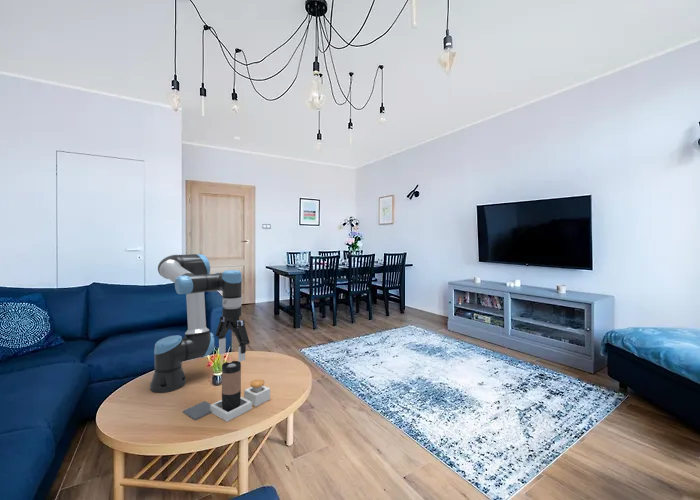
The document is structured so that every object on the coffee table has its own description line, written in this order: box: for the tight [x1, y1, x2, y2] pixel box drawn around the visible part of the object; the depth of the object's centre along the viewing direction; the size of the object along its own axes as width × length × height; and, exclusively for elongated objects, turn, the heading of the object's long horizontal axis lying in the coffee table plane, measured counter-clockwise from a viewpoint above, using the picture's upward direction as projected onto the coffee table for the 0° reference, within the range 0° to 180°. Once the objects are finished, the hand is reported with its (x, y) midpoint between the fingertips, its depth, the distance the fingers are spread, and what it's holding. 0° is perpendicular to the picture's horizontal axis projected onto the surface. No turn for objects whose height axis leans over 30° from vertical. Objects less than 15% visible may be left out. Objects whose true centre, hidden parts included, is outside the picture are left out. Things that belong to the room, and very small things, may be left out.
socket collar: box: [210, 396, 253, 423], centre depth 133 cm, size 12×12×3 cm
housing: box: [243, 385, 271, 407], centre depth 141 cm, size 8×8×5 cm
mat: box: [182, 400, 212, 421], centre depth 132 cm, size 10×10×1 cm
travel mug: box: [221, 360, 242, 412], centre depth 132 cm, size 8×8×20 cm
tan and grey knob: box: [249, 378, 265, 393], centre depth 141 cm, size 6×6×8 cm
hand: (231, 357), depth 132 cm, fingers open, 13 cm apart
